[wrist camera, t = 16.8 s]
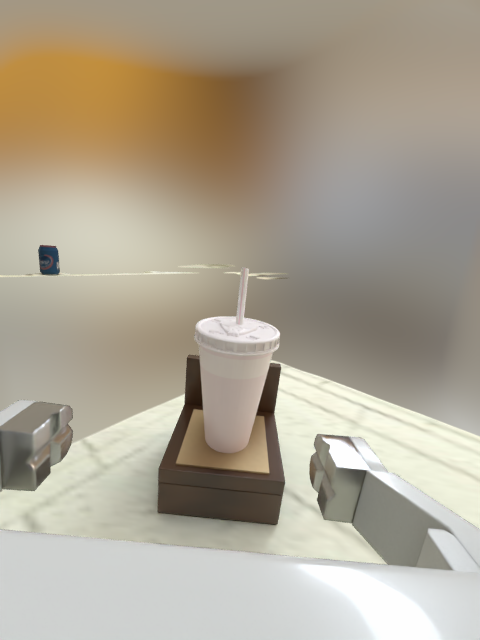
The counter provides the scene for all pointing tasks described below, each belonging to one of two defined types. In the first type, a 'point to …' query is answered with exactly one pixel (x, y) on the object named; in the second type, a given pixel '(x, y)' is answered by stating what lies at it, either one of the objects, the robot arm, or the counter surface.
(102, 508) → the counter surface
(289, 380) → the counter surface
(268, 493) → the wooden chair
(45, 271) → the soda can
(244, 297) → the smoothie
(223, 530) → the counter surface
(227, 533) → the counter surface
